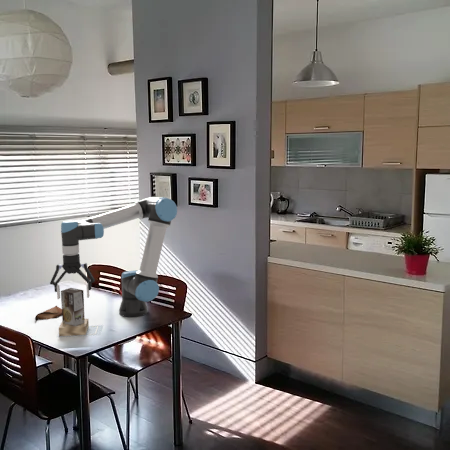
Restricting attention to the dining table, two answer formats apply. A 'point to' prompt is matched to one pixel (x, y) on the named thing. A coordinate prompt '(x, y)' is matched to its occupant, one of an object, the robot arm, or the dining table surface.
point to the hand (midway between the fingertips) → (73, 297)
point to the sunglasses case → (49, 314)
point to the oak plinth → (73, 329)
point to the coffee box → (72, 306)
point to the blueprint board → (90, 331)
